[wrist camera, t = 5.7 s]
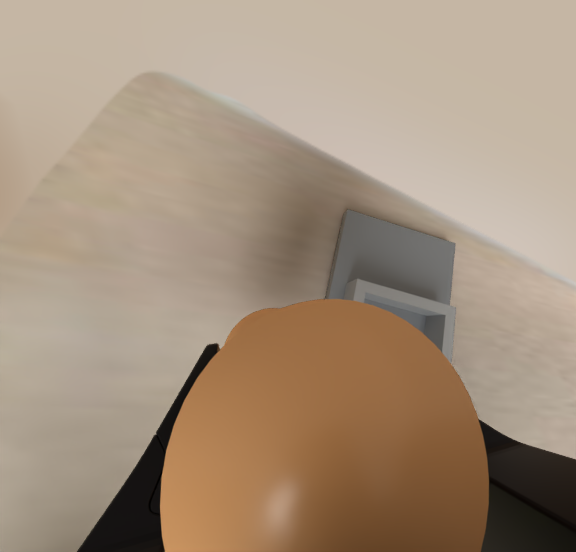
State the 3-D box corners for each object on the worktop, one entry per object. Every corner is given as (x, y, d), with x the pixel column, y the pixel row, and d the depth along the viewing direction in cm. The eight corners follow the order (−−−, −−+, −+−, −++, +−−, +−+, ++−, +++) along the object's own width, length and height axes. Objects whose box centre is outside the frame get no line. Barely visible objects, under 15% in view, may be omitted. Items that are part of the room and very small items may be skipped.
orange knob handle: (330, 363, 16) (589, 490, 4) (259, 424, 15) (298, 938, 2) (280, 293, 17) (364, 201, 4) (207, 345, 15) (11, 435, 3)
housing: (428, 432, 23) (460, 452, 20) (302, 402, 22) (312, 418, 19) (446, 246, 28) (475, 235, 24) (343, 214, 27) (357, 197, 23)
